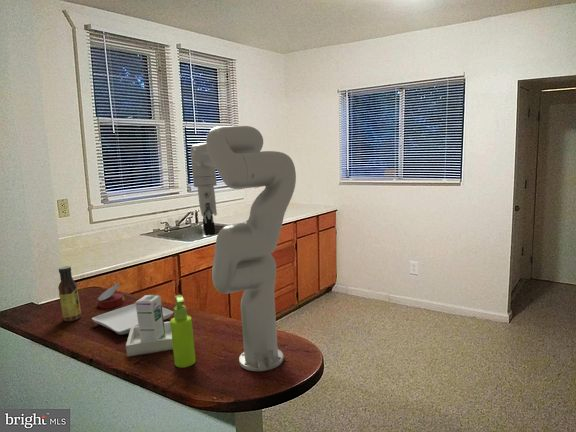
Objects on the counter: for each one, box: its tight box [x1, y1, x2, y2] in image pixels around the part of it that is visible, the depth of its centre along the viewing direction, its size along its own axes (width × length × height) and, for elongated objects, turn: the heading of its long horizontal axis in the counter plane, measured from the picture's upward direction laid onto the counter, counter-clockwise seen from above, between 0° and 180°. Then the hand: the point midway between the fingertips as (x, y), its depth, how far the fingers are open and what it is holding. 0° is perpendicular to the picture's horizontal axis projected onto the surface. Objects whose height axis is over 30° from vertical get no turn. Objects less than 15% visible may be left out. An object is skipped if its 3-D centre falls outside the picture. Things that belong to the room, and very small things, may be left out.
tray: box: [125, 321, 173, 357], centre depth 134 cm, size 14×14×4 cm
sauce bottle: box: [58, 266, 82, 323], centre depth 156 cm, size 6×6×20 cm
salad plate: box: [91, 302, 174, 336], centre depth 152 cm, size 21×21×3 cm
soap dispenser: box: [170, 294, 197, 368], centre depth 119 cm, size 6×7×20 cm
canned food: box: [97, 282, 125, 309], centre depth 172 cm, size 11×10×10 cm
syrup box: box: [134, 294, 166, 342], centre depth 133 cm, size 6×6×14 cm
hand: (209, 232), depth 143 cm, fingers open, 9 cm apart
